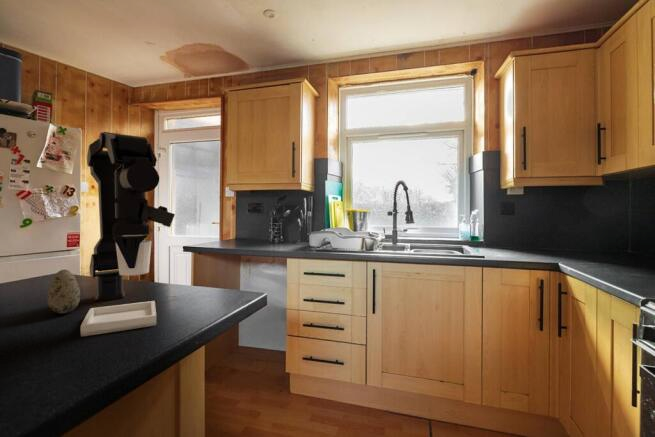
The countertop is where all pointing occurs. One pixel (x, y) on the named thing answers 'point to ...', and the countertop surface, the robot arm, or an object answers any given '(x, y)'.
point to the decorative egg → (63, 292)
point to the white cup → (141, 261)
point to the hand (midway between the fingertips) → (131, 265)
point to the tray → (119, 318)
